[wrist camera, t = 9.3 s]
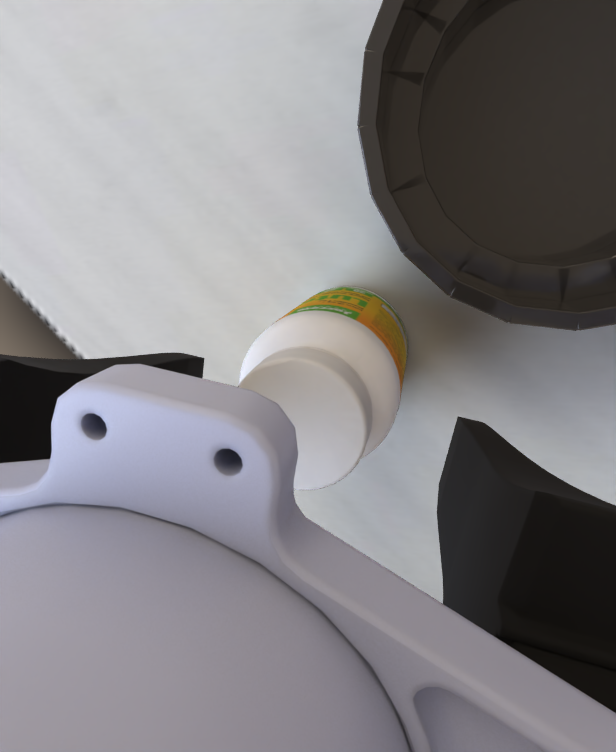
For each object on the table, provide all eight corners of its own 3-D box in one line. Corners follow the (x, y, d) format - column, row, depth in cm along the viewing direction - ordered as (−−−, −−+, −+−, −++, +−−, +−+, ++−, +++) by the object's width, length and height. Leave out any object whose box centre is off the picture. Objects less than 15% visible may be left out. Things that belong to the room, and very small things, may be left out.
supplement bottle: (384, 266, 22) (352, 302, 13) (424, 380, 23) (422, 490, 14) (273, 308, 23) (174, 367, 14) (315, 413, 24) (248, 529, 15)
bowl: (863, 89, 17) (1033, 40, 12) (540, 367, 21) (572, 409, 17) (571, -197, 16) (629, -363, 11) (309, 154, 21) (275, 137, 16)
